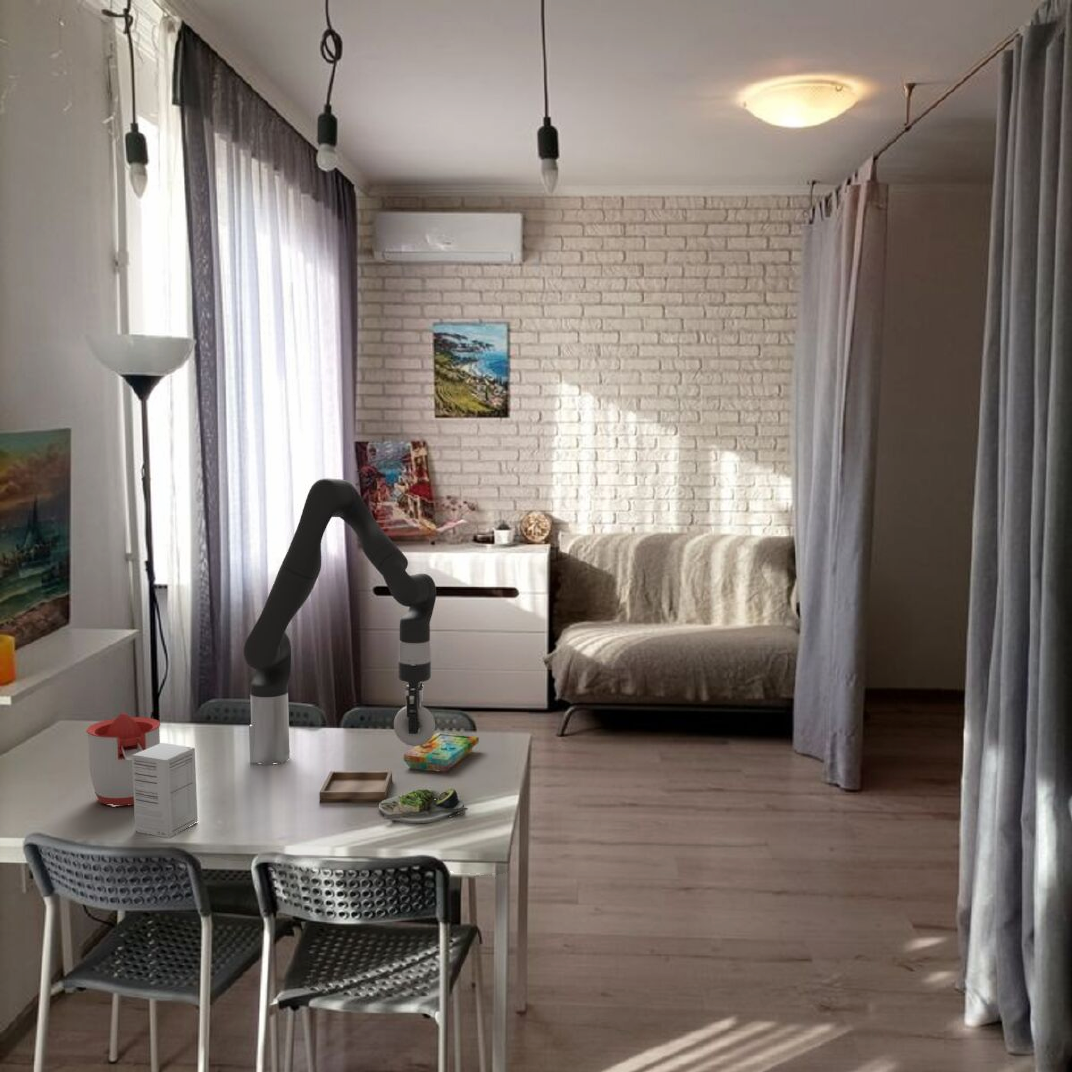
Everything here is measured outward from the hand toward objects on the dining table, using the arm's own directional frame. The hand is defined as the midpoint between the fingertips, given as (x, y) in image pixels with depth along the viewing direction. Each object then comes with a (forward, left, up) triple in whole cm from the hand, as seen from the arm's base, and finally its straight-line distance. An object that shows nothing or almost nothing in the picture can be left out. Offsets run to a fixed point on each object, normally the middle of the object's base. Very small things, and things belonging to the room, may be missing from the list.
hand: (414, 730), depth 269 cm
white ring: (0, 0, -4) cm, 4 cm away
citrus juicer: (-64, -12, -13) cm, 66 cm away
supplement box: (-50, -29, -13) cm, 59 cm away
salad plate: (+4, -19, -13) cm, 23 cm away
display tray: (-13, -7, -13) cm, 19 cm away
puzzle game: (+5, +17, -13) cm, 22 cm away
